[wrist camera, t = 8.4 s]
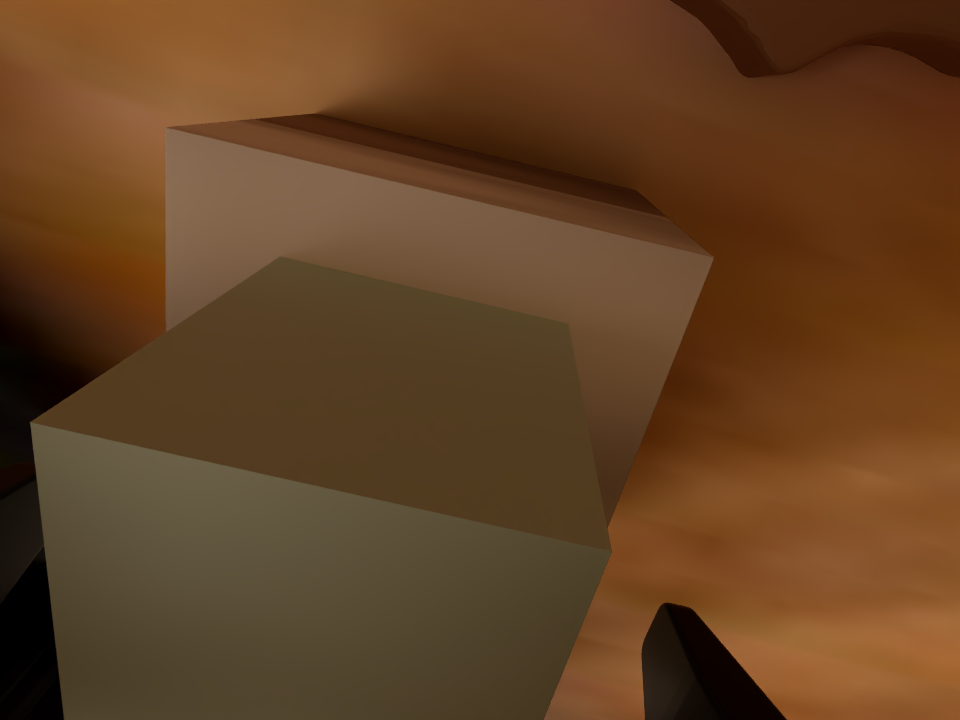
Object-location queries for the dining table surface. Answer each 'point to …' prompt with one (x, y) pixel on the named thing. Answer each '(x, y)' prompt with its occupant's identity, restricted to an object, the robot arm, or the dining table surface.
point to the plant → (829, 30)
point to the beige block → (443, 245)
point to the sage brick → (323, 511)
